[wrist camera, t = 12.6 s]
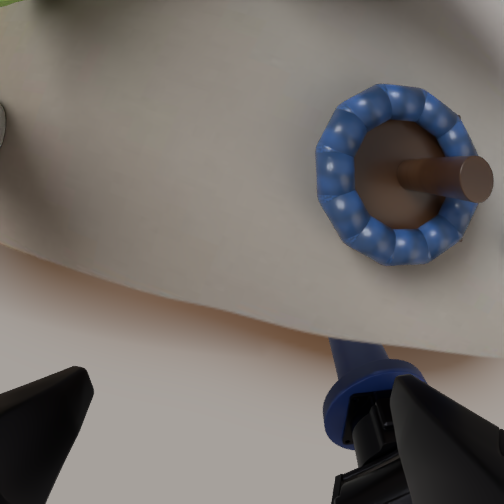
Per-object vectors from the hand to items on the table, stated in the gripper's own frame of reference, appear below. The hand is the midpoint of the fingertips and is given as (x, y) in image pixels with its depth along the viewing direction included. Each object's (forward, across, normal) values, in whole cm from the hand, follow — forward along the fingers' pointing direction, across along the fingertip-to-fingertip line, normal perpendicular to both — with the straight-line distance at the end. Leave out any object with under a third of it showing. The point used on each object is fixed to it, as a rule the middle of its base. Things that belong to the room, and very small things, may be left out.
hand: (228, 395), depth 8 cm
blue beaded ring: (+10, -8, -6) cm, 14 cm away
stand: (+12, -9, -6) cm, 16 cm away
